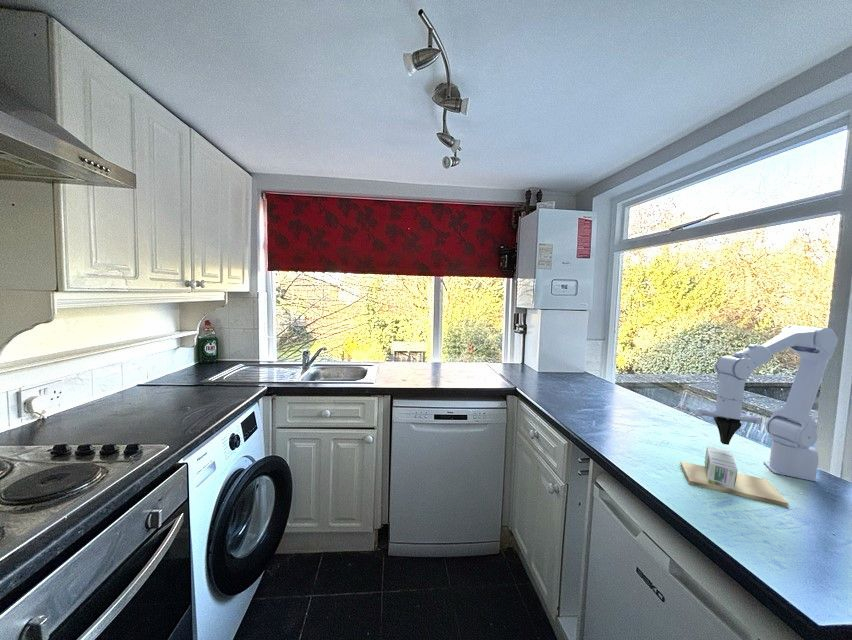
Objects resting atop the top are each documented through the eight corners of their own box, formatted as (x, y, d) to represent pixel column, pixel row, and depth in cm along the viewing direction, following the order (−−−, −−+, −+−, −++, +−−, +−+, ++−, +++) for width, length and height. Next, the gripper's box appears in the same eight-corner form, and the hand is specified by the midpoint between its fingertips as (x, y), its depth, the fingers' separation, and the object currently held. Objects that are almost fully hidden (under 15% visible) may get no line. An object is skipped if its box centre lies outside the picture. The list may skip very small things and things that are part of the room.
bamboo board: (766, 482, 99) (767, 479, 99) (787, 506, 88) (788, 503, 88) (680, 464, 108) (680, 461, 108) (689, 483, 97) (689, 480, 97)
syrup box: (706, 444, 107) (709, 462, 96) (732, 451, 104) (737, 469, 92) (704, 462, 108) (706, 482, 96) (729, 469, 104) (735, 490, 93)
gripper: (755, 398, 103) (750, 443, 104) (695, 390, 109) (690, 433, 110) (767, 404, 97) (761, 452, 98) (702, 396, 103) (697, 441, 104)
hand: (724, 443), depth 104 cm, fingers closed
